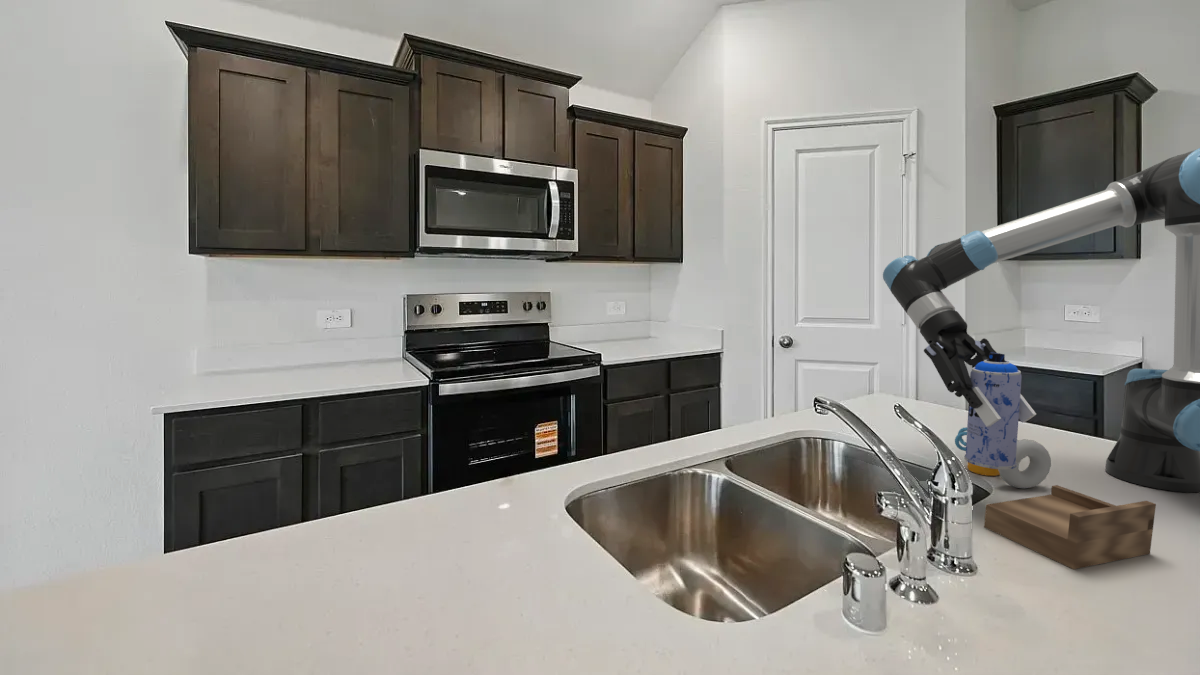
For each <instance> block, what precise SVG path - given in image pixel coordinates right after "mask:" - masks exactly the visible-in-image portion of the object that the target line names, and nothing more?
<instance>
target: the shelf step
mask: <svg viewBox="0 0 1200 675" xmlns="http://www.w3.org/2000/svg"><path fill="white" fill-rule="evenodd" d="M1050 493H1051V494H1046V495H1039V496H1033V497H1028V498H1027V497H1026V498H1021V499H1013V500H1007V501H1006V500H1005V501H1000V502H994V503H993V502H992V503H986V504H985V512H984V521H983V522H984V523H983V524H984V525H983V527H984V528H985V529H986V530H987V529H988V530H990V531H991V532H993V533H996V534H998V535H1000V536H1002V537H1004V538H1006V539H1009V540H1011V541H1013V542H1015V543H1017V544H1019V545H1021V546H1023V547H1026V548H1027V549H1029V550H1032V551H1034V552H1035V553H1038V554H1040V555H1042V556H1045V557H1046V558H1049V559H1050V560H1052V561H1055V562H1057V563H1059V564H1061V565H1063V566H1066V567H1068V568H1069V569H1072V570H1077V569H1081V568H1088V567H1092V566H1096V565H1101V564H1106V563H1111V562H1116V561H1120V560H1127V559H1131V558H1135V557H1141V556H1144V555H1150V554H1151V549H1152V548H1151V547H1152V540H1153V531H1154V525H1155V524H1154V522H1155V517H1156V516H1155V514H1156V506H1157V504H1156V503H1154V502H1152V501H1148V500H1143V501H1137V502H1131V503H1125V504H1118V505H1115V504H1112V503H1110V502H1106V501H1104V500H1100V499H1099V498H1095V497H1093V496H1089V495H1086V494H1083V493H1081V492H1078V491H1075V490H1073V489H1070V488H1067V487H1064V486H1061V485H1058V484H1055V485H1051V492H1050Z"/></svg>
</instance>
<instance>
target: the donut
mask: <svg viewBox="0 0 1200 675" xmlns="http://www.w3.org/2000/svg"><path fill="white" fill-rule="evenodd" d="M1026 457H1028V458H1029V463H1028V466H1027V467H1026V468H1025V469H1022V470H1020V468H1019V466H1020V462H1021V461H1022V460H1023V459H1024V458H1026ZM1016 462H1017V466H1016V467H1015V468H1013V469H998V470H999V473H1000V475H999V476H1000V478H1002V479H1003V481H1004V482H1005V483H1006V484H1007V485H1010V486H1011V487H1014V488H1017V489H1029V488H1034V487H1036V486H1038V485H1040V484H1041V483H1042V482H1043V481H1044V480H1045V479H1046V478H1047V477H1048V475H1049V474H1050V471H1051V466H1052V460H1051V455H1050V454H1049V451H1048V450H1047V448H1046V447H1044V445H1043V444H1041V443H1039V442H1038V441H1035V440H1032V439H1027V438H1024V439H1019V440H1018V439H1017V449H1016Z"/></svg>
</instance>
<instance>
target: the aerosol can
mask: <svg viewBox="0 0 1200 675" xmlns="http://www.w3.org/2000/svg"><path fill="white" fill-rule="evenodd" d="M1005 357H1006V356H1005V353H1004V354H1003V353H999V352H997V353H994V352H990V353H989V359H987V360H984V361H982V362H979V363H978V364H977V365H976V366H975V367H974V366H973V367H971V371H970V374H969V376H970V379H971V382H972V385H973V387H972V389H973V388H974V387H978V388H979V389H980V390H981V392H982V393H983V394H984V396H985V397H986V398H987V400H988V401H989V402H990V404H991V405H992V406H993V408H994V409H995V411H996V412H997V413H998V415H999V416H1000V417H1001V419H1000V420H998V421H997V422H996V423H994V424H993V425H991V426H989V427H986V425H985V424H984V422H983V421H982V419H981V418H980V417H979V415H978V414H977V412H976V411H975V410H974V409H973V408H972V407H971V406H970V405H969V404H968V411H967V426H966V427H967V431H966V432H967V435H966V440H965V442H966V446H965V447H966V451H965V454H964V457H963V459H964V460H965V461H966V462H967V463H968V462H969V463H971V464H974V465H977V466H981V467H986V468H992V469H1013V468H1015V467H1016V466H1017V462H1016V449H1017V440H1018V433H1019V432H1018V431H1019V421H1020V419H1019V406H1020V393H1022V392H1021V390H1022V378H1023V377H1022V376H1023V374H1021V373H1022V372H1021V370H1019V369H1018V367H1017V365H1016V364H1014V363H1011V362H1010V361H1008V360H1006V359H1005Z"/></svg>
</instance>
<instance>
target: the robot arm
mask: <svg viewBox="0 0 1200 675" xmlns="http://www.w3.org/2000/svg"><path fill="white" fill-rule="evenodd" d="M1160 220H1164V229H1165V230H1167V231H1169V232H1170V233H1171V234H1173V235H1174V236H1175V237H1176V238H1175V275H1174V278H1175V281H1174V282H1175V284H1174V285H1175V286H1174V323H1173V324H1174V326H1173V327H1174V328H1173V330H1174V331H1173V332H1174V333H1173V364H1172V367H1170V368H1169V369H1158V368H1157V369H1155V368H1132V369H1131V370H1129V371H1128V372H1127V375H1126V380H1125V382H1124V394H1123V395H1124V396H1123V407H1122V415H1121V424H1120V433H1119V438H1118V439H1117V441H1116V443H1115V444H1114V446H1113V448H1112V449H1111V451H1110V453H1109V455H1108V456H1107V458H1106V460H1105V471H1106V473H1108V474H1109V475H1111V476H1113V477H1115V478H1116V479H1120V480H1122V481H1125V482H1128V483H1132V484H1136V485H1140V486H1144V487H1147V488H1153V489H1159V490H1165V491H1171V492H1172V491H1173V492H1178V493H1179V492H1180V493H1181V492H1182V493H1199V492H1200V147H1199V148H1197V149H1194V150H1191V151H1188V152H1186V153H1182V154H1179V155H1175V156H1173V157H1170V158H1167V159H1165V160H1163V161H1160V162H1158V163H1156V164H1154V165H1152V166H1149V167H1148V168H1145V169H1144V170H1141V171H1139V172H1137V173H1134V174H1132V175H1129V176H1127V177H1124V178H1122V179H1119V180H1116V181H1112V182H1110V183H1109V184H1108V185H1107V187H1106V188H1105V189H1104V190H1101V191H1098V192H1096V193H1092V194H1089V195H1087V196H1083V197H1081V198H1077V199H1074V200H1071V201H1069V202H1066V203H1065V202H1064V203H1061V204H1060V205H1057V206H1053V207H1051V208H1047V209H1044V210H1041V211H1037V212H1035V213H1033V214H1032V213H1031V214H1029V215H1025V216H1023V217H1020V218H1017V219H1014V220H1011V221H1008V222H1005V223H1001V224H999V225H996V226H994V227H990V228H987V229H984V230H973V231H970V232H969V233H967V234H964V235H961V237H959V238H957V239H954V240H951V241H948V242H943V243H942V242H941V243H940V244H937V245H934V246H933V248H931V249H930V250H929V251H928V253H927V254H926V256H925V257H922V258H920V259H917V258H916V257H915V256H913V255H904V256H903V257H900V256H899V257H897V258H895V259H893V260H892V261H891V262H890V263H888V264H887V265H886V267H885V268H884V270H883V272H882V280H883V281H884V282H885V284H886V286H887V288H888V289H889V291H890V292H891V295H893V297H894V298H895V299H896V301H897V302H898V303H899V304H900V306H901V307H902V309H903V310H904V312H905V313H906V314H907V315H908V317H909V318H910V320H911V321H912V323H913V324H914V325H915V327H916V328H917V329H918V330H919V333H920V335H921V336H922V337H923V339H924V340H925V341H926V343H927V344H928V345H927V346H926V347H925V348H924V349H923V352H924V354H926V356H927V357H928V358H929V359H930V360H931V362H932V364H933V366H934V367H935V369H936V371H937V373H938V374H939V377H940V379H941V380H942V382H943V384H944V386H945V387H946V389H947V391H949V393H954V392H955V393H954V395H955V396H956V397H958V398H961V397H962V396H963V397H964V399H965V400H966V401H967V403H968V406H969V405H970V406H971V407H972V408H973V409H974V410H975V411H976V412H977V414H978V415H979V417H980V418H981V419H982V421H983V422H984V424H985V425H986V427H989V426H991V425H993V424H994V423H996V422H997V421H998V420H1000V419H1001V417H1000V416H999V415H998V413H997V412H996V411H995V409H994V408H993V406H992V405H991V404H990V402H989V401H988V400H987V398H986V397H985V396H984V394H983V393H982V392H981V390H980V389H979V388H978V387H974V388H973V389H972V387H973V385H972V382H971V379H970V374H969V371H968V367H967V365H968V366H973V367H975V366H976V365H977V364H978V363H979V362H982V361H984V360H987V359H989V353H990V352H994V353H998V352H997V351H996V350H995V349H994V348H993V347H992V345H991V343H990V341H989V340H988V339H987V338H982V339H981V340H975V339H974V338H973V337H972V336H971V335H970V334H968V324H967V322H966V321H965V320H964V318H963V316H962V315H961V314H960V313H959V311H957V310H956V308H955V306H954V305H953V304H952V302H951V300H949V299H948V298H947V296H946V295H945V293H943V290H945V289H947V288H948V287H951V286H952V285H953V284H956V283H958V282H960V281H962V280H964V279H965V278H968V277H970V276H972V275H974V274H976V273H977V272H980V271H983V270H984V271H985V269H986V268H987V267H989V266H991V265H992V264H995V263H999V262H1003V261H1005V260H1009V259H1013V258H1016V257H1020V256H1023V255H1026V254H1029V253H1032V252H1036V251H1039V250H1042V249H1045V248H1048V247H1052V246H1054V245H1059V244H1062V243H1064V242H1068V241H1071V240H1074V239H1077V238H1081V237H1083V236H1087V235H1088V236H1089V235H1090V234H1094V233H1098V232H1100V231H1101V232H1102V231H1104V230H1106V229H1110V228H1113V227H1114V228H1115V227H1116V226H1121V227H1124V228H1130V227H1133V226H1137V225H1140V224H1144V223H1150V222H1154V221H1160ZM966 364H967V365H966ZM1036 415H1037V413H1036V411H1035V410H1034V409H1033V408H1032V406H1031V405H1030V404H1029V403H1028V401H1027V399H1025V396H1024V395H1023V394H1022V392H1020V406H1019V421H1020V422H1021V423H1026V422H1027V421H1029V420H1030V419H1032V418H1033V417H1036Z"/></svg>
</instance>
